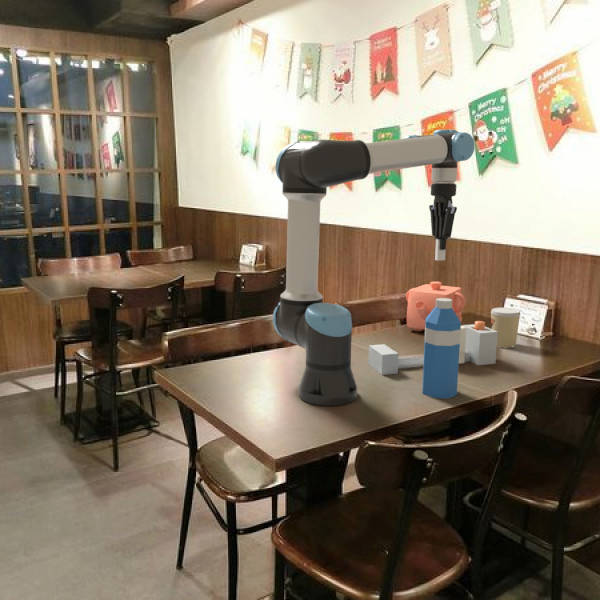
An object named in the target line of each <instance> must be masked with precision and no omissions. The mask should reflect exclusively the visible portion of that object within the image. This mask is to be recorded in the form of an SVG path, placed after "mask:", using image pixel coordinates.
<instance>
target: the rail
mask: <svg viewBox="0 0 600 600" xmlns="http://www.w3.org/2000/svg"><path fill="white" fill-rule="evenodd" d="M470 362H471V361H470V352H469V351H467V350H465V360H464V363H470ZM423 366H424V353H421V354H410V355H400V356H399V355H398V370H399V369H409V368H419V367H421V368H422V367H423Z"/></svg>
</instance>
